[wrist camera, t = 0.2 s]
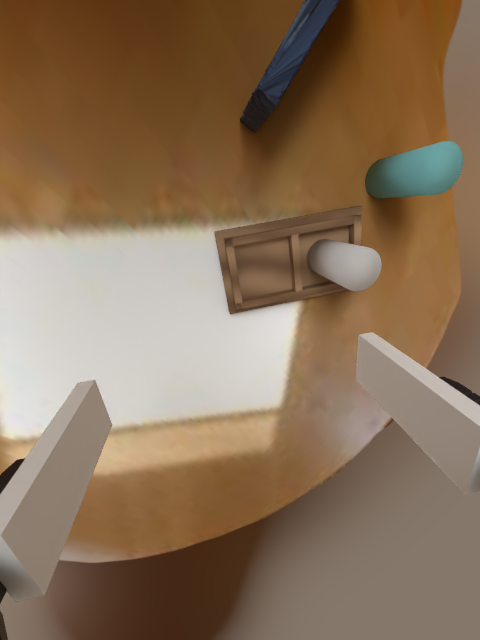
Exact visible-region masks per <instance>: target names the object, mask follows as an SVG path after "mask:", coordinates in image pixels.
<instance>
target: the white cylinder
mask: <svg viewBox="0 0 480 640" xmlns="http://www.w3.org/2000/svg"><path fill="white" fill-rule="evenodd" d="M307 264H308V266H309V268H310V269H311V270H312V271H314V272H316V273H317V274H319V275H321V276H323V277H325V278H327V279H329V280H331V281H333V282H335V283H337V284H339V285H341V286H343V287H345V288H347V289H349V290H351V291H362V290H365V289H367V288H369V287H370V286H371V285H372V284H373V283H374V282H375V281H376V280H377V278H378V276H379V274H380V271H381V259H380V256H379V254H378V253H377V252H376V251H375V250H373V249H371V248H368V247H363V246H358V245H353V244H349V243H344V242H339V241H334V240H330V239H321V240H318V241H316V242H315V243H314V244H313V245H312V246H311V247H310V248H309V250H308V253H307Z"/></svg>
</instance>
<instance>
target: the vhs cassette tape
mask: <svg viewBox="0 0 480 640" xmlns="http://www.w3.org/2000/svg"><path fill="white" fill-rule="evenodd" d="M339 1H340V0H305V2H304V3H303V4H302V6H301V8H300V10H299V12H298V14H297V16H296V17H295V19H294V21H293V23H292V25H291V26H290V28H289V30H288V32H287V34H286V36H285V38H284V39H283V40H282V43H281V45H280V47H279V48H278V50H277V52H276V54H275V56H274V57H273V59H272V61H271V63H270V65H269V66H268V68H267V69H266V71H265V74H264V75H263V77H262V78H261V80H260V82H259V84H258V86H257V88H255V91H254V92H253V93H252V96H251V99H250V101H249V102H248V104H247V106H246V108H245V110H244V112H243V115H242V117H241V118H240V120H241V122H243V123H244V124H245V125H246V126H247V127H248V128H250V129H251V131H252V132H256V131H257V130H258V129H259V128H260V126H261V125H262V124H263V123H264V121H265V120H266V119H267V118H268V116H269V115H270V114H271V112H272V111H273V110H274V109H275V107H276V106H277V105H278V103H279V101H280V99H281V98H282V96H283V95H284V93H285V92H286V89H287V87H288V86H289V85H290V83H291V81H292V79H293V77H294V76H295V75H296V73H297V71H298V70H299V68H300V66H301V65H302V63H303V62H304V60H305V58H306V56H307V54H308V52H309V50H310V48H311V47H312V45H313V43H314V42H315V41H316V39H317V38H318V36H319V34H320V33H321V31H322V29H323V28H324V26H325V24H326V22H327V21H328V19H329V18H330V16H331V14H332V12H333V11H334V9H335V7H336V6H337V4H338V2H339Z"/></svg>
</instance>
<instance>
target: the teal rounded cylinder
mask: <svg viewBox="0 0 480 640" xmlns="http://www.w3.org/2000/svg"><path fill="white" fill-rule="evenodd" d="M462 165H463V156H462V152H461V149H460V148H459V147H458V145H456V144H455V143H453V142H450V141H444V142H440V143H436V144H433V145H429V146H426V147H422V148H419V149H415V150H412V151H408V152H405V153H401V154H398V155H394V156H391V157H387V158H384V159H380V160H378V161H376V162H375V163H374V164H373V165H372V166H371V167H370V169H369V170H368V172H367V175H366V179H365V185H366V189H367V192H368V193H369V194H370V195H371V196H372V197H374V198H378V199H380V198H394V197H408V196H422V195H436V194H441V193H443V192H445V191H447V190H448V189H450V188H451V187H452V186H453V185H454V183H455V182H456V181H457V179H458V177H459V175H460V173H461V170H462Z"/></svg>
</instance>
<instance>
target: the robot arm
mask: <svg viewBox="0 0 480 640" xmlns="http://www.w3.org/2000/svg"><path fill="white" fill-rule="evenodd" d="M356 380H357V381H358V382H359V383H360V384H361V385H362V386H363V387H364V389H365V390H366V391H367V392H368V393H369V394H370V395H371V396H372V397H373V398H374V399H375V400H376V401H377V402H378V403H379V404H380V405H381V406H382V407H383V409H384V410H385V411H386V412H387V413H388V414H389V415H390V416H391V417H392V418H393V419H394V420H395V421H396V422H397V423H398V424H399V425H400V426H401V427H402V428H403V430H404V431H406V433H407V434H408V435H409V436H410V437H411V438H412V439H413V440H414V441H415V442H416V443H417V444H418V445H419V446H420V447H421V448H422V450H423V451H424V452H425V453H426V454H427V455H428V456H429V457H430V458H431V459H432V460H433V461H434V462H435V463H436V464H437V465H438V466H439V467H440V469H441V470H442V471H443V472H444V473H445V474H446V475H447V476H448V477H449V478H450V479H451V480H452V481H453V482H454V483H455V484H456V485H457V486H458V488H459V489H461V491H462V492H463V493H464V494H468V493H472V492H476V491H480V396H478V395H477V394H475V393H472V391H471V390H469V389H467V388H466V387H464V386H463V385H461V384H460V383H458V382H455V381H453V380H451V379H448V378H446V377H437V376H436V375H434V374H433V373H431V372H430V371H428V370H427V369H426V368H424V367H423V366H421V365H420V364H418V363H417V362H415V361H414V360H412V359H411V358H409V357H408V356H407V355H405V354H404V353H402V352H401V351H399V350H398V349H396V348H395V347H393V346H392V345H391V344H389V343H388V342H386V341H385V340H383V339H382V338H380V337H379V336H377V335H376V334H374V333H373V332H371V333H365V334H360V335H359V337H358V353H357V368H356ZM111 427H112V423H111V421H110V418H109V415H108V413H107V410H106V408H105V405H104V402H103V400H102V397H101V394H100V392H99V389H98V386H97V384H96V381H95V380H92V381H86V382H80V383H78V384H77V385H76V387H75V388H74V389H73V391H72V392H71V394H70V395H69V397H68V398H67V399H66V401H65V402H64V404H63V405H62V407H61V408H60V410H59V411H58V412H57V414H56V415H55V417H54V418H53V420H52V421H51V422H50V424H49V425H48V427H47V428H46V430H45V431H44V433H43V434H42V435H41V437H40V438H39V440H38V441H37V443H36V444H35V445H34V447H33V448H32V450H31V451H30V453H29V454H28V456H27V457H26V458H24V459H19V460H16V461H15V462H14V463H13V464H12V465H11V466H10V467H8V468H7V469H6V470H5V471H4V472H3V473H2V474H1V475H0V603H1V601H2V599H3V597H4V595H5V593H6V591H7V592H8V593H9V595H10V596H11V597H12V598H13V599H14V601H15V602H18V601H22V600H27V599H31V598H35V597H39V596H43V595H45V593H46V590H47V588H48V585H49V582H50V580H51V577H52V575H53V573H54V570H55V567H56V565H57V562H58V560H59V557H60V555H61V552H62V550H63V547H64V545H65V542H66V540H67V537H68V535H69V532H70V530H71V527H72V525H73V522H74V520H75V517H76V515H77V512H78V510H79V507H80V505H81V502H82V500H83V497H84V495H85V492H86V490H87V487H88V485H89V482H90V479H91V477H92V474H93V472H94V469H95V467H96V464H97V462H98V459H99V457H100V454H101V452H102V449H103V447H104V444H105V442H106V439H107V437H108V434H109V432H110V429H111ZM0 640H8V638H7V633H6V629H5V624H4V619H3V615H2V613H1V612H0Z"/></svg>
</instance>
